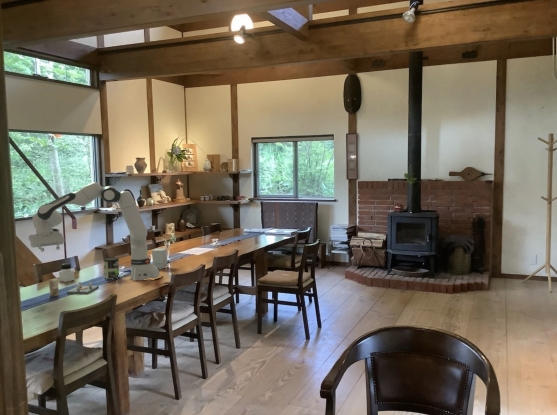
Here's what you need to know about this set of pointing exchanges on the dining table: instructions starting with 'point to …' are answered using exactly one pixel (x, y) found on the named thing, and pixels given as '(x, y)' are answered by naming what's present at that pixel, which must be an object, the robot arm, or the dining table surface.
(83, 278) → the dining table surface
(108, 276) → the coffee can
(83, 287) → the pin board
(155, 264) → the supplement box
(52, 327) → the dining table surface
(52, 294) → the birch peg
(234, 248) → the dining table surface
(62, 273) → the medicine bottle
